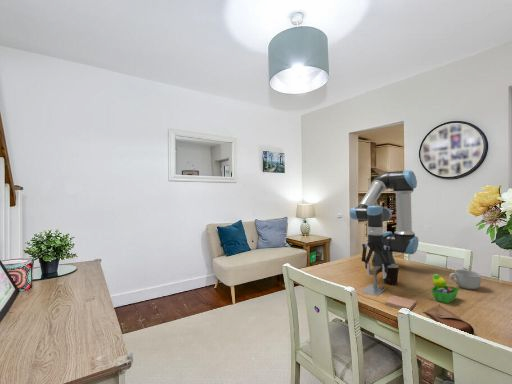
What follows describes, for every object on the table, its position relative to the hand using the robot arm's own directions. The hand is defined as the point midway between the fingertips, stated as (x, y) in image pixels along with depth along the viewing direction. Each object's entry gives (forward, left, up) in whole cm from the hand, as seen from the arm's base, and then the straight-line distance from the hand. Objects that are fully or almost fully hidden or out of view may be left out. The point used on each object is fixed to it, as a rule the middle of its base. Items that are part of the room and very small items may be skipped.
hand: (376, 276), depth 140 cm
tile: (+9, +15, -6) cm, 19 cm away
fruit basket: (-4, +29, -6) cm, 30 cm away
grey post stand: (+3, 0, -6) cm, 7 cm away
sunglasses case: (+21, +33, -7) cm, 39 cm away
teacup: (-28, +35, -6) cm, 46 cm away
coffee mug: (-12, +3, -6) cm, 14 cm away
